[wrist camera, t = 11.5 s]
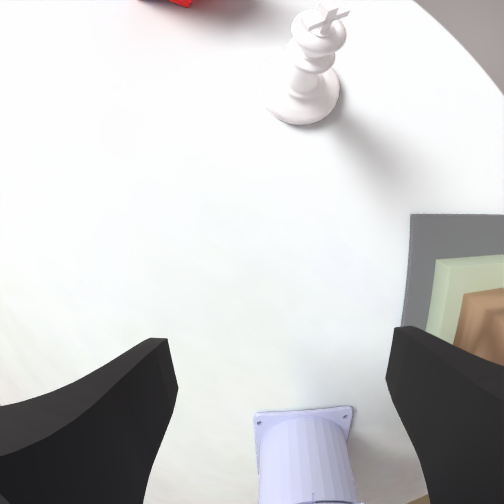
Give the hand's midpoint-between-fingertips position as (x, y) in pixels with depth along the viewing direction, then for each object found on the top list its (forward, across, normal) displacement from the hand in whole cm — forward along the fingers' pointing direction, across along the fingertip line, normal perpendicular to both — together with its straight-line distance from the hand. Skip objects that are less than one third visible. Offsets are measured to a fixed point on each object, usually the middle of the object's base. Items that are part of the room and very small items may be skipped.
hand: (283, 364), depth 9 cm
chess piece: (+11, -2, -11) cm, 15 cm away
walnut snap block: (+8, -14, +4) cm, 17 cm away
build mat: (+10, -14, +4) cm, 18 cm away
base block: (+10, -14, +4) cm, 18 cm away
